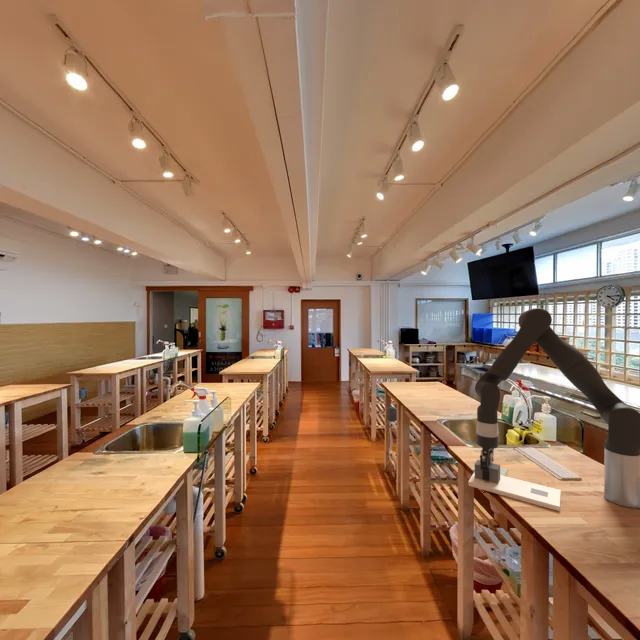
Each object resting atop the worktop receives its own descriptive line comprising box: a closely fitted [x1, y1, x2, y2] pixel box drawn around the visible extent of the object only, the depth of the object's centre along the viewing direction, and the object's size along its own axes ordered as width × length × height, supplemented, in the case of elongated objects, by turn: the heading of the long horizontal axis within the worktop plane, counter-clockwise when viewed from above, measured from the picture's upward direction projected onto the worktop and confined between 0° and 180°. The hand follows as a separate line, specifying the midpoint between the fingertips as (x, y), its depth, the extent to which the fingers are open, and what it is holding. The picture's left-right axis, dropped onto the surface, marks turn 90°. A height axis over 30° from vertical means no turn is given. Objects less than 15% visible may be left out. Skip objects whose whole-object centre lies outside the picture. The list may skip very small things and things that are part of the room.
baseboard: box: [513, 444, 582, 481], centre depth 145 cm, size 30×3×10 cm
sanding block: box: [474, 459, 501, 485], centre depth 128 cm, size 8×5×6 cm, turn 53°
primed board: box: [467, 471, 562, 512], centre depth 123 cm, size 28×13×2 cm, turn 53°
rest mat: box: [471, 464, 508, 477], centre depth 138 cm, size 12×9×1 cm
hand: (487, 477), depth 128 cm, fingers closed on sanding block, 5 cm apart
